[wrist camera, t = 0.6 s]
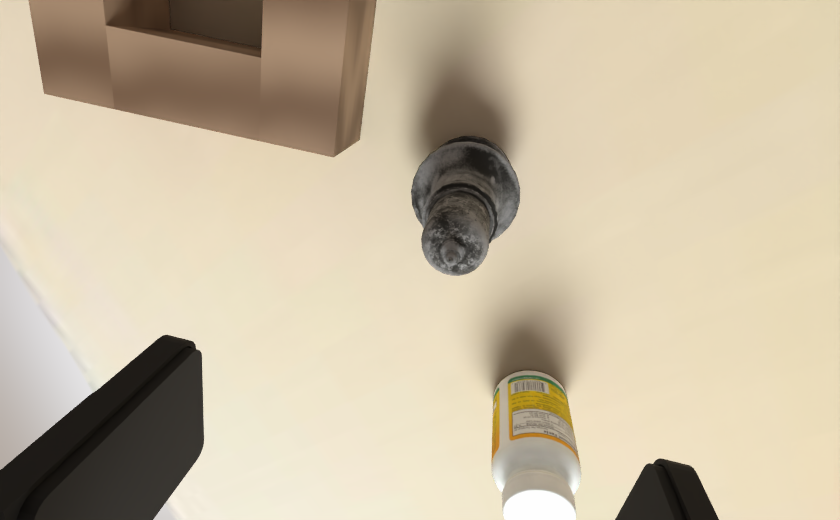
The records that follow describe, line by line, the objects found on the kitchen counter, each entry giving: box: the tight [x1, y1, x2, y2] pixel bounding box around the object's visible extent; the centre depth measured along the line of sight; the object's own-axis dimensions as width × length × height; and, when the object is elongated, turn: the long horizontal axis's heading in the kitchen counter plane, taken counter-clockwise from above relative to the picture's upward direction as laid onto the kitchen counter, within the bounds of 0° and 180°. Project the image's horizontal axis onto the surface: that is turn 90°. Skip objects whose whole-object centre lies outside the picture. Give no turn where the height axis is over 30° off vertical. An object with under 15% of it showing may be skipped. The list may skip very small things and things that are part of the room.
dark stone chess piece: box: [411, 136, 520, 276], centre depth 23 cm, size 6×6×12 cm
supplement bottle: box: [492, 371, 581, 520], centre depth 30 cm, size 5×5×10 cm
